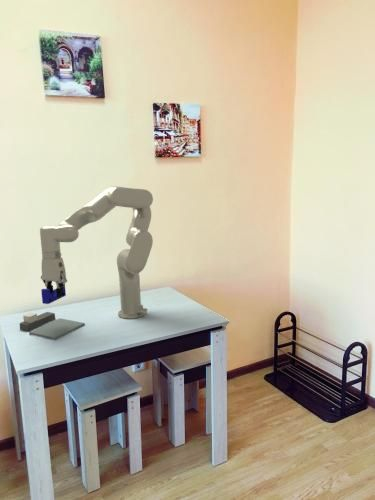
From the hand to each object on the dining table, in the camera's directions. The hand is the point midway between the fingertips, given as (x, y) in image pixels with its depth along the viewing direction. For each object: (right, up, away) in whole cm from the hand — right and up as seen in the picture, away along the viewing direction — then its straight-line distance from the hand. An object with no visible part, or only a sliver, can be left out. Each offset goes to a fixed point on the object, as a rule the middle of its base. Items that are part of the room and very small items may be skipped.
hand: (55, 295), depth 181 cm
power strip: (-11, -14, +9) cm, 20 cm away
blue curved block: (0, -2, -1) cm, 2 cm away
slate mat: (0, -15, +2) cm, 16 cm away
